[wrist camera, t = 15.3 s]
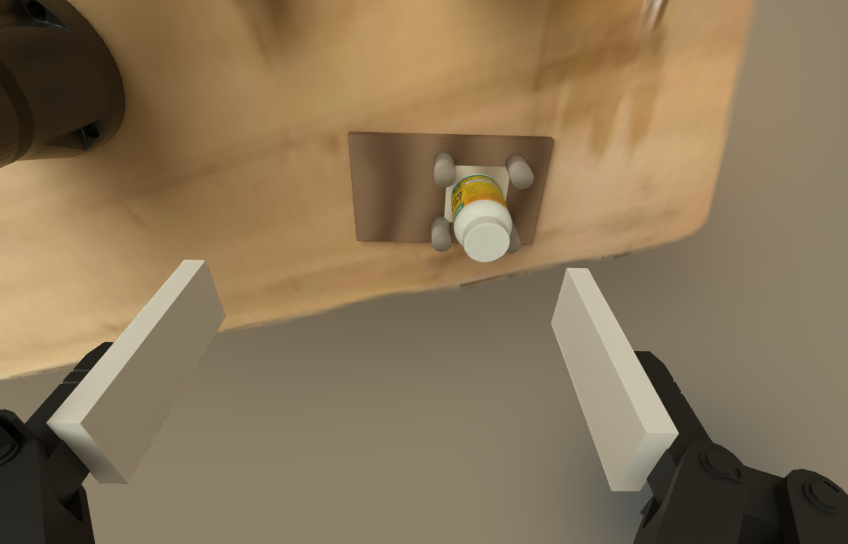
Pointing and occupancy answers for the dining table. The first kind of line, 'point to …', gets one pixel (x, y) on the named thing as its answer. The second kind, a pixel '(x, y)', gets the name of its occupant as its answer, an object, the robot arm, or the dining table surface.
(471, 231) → the supplement bottle
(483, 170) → the pin nest
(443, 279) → the dining table surface
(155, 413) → the robot arm
